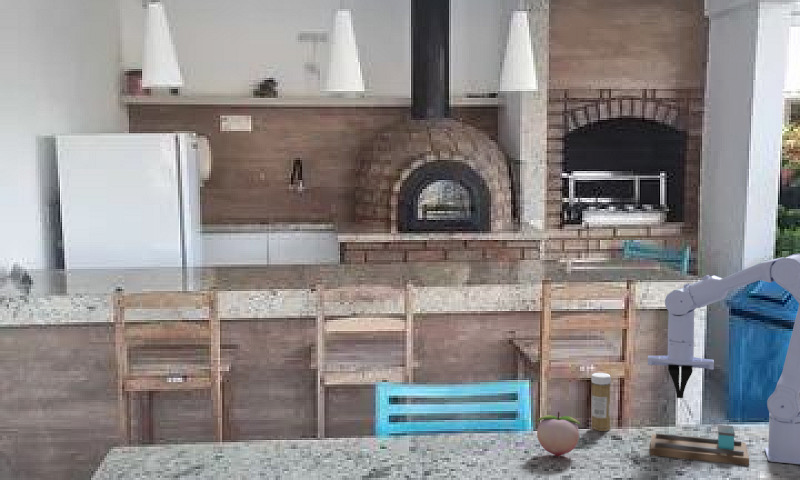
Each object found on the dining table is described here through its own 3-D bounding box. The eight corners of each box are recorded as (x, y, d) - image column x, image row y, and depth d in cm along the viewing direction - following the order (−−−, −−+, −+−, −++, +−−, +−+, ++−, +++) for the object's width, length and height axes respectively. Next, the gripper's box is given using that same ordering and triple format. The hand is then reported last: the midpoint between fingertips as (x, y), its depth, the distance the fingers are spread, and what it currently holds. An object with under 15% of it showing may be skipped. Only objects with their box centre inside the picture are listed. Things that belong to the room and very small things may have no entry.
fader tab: (732, 443, 176) (733, 426, 175) (734, 451, 171) (734, 433, 170) (717, 442, 177) (717, 424, 176) (718, 450, 172) (718, 432, 172)
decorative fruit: (539, 463, 170) (540, 418, 169) (534, 450, 178) (534, 407, 177) (583, 463, 170) (584, 418, 169) (576, 450, 178) (576, 406, 177)
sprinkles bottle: (613, 428, 192) (614, 374, 191) (603, 433, 189) (604, 378, 188) (597, 424, 196) (598, 371, 195) (587, 428, 193) (587, 374, 191)
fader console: (745, 449, 177) (745, 439, 177) (749, 465, 168) (749, 454, 168) (651, 440, 184) (651, 430, 184) (650, 455, 174) (650, 444, 174)
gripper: (713, 338, 186) (712, 394, 187) (648, 334, 191) (648, 389, 192) (714, 344, 179) (713, 403, 180) (647, 340, 184) (646, 397, 185)
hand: (679, 396), depth 186 cm, fingers closed
